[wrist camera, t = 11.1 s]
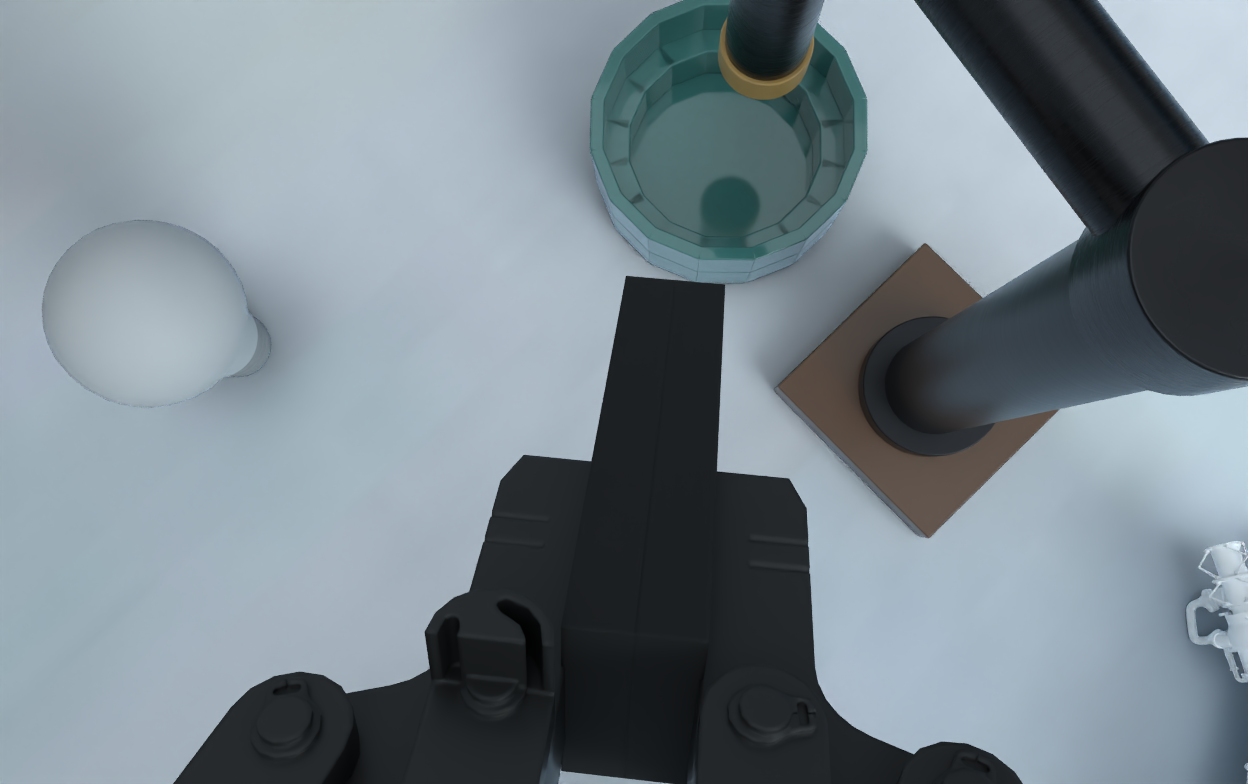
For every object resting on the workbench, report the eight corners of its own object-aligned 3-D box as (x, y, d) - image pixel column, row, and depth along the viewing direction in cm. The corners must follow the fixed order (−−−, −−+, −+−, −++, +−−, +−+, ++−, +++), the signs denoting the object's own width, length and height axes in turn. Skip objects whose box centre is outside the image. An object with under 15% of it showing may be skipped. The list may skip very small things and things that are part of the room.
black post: (772, 390, 40) (879, 288, 20) (915, 251, 40) (1159, 16, 20) (919, 537, 39) (1179, 583, 19) (1063, 394, 39) (1467, 294, 20)
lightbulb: (345, 386, 41) (227, 346, 30) (207, 448, 41) (38, 431, 30) (289, 250, 41) (153, 163, 30) (153, 311, 41) (-32, 247, 30)
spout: (1085, 381, 31) (1436, 288, 17) (973, 458, 31) (1231, 430, 17) (790, -15, 32) (886, -402, 18) (683, 57, 32) (696, -275, 18)
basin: (547, 163, 41) (533, 123, 37) (722, -3, 42) (729, -62, 37) (719, 336, 40) (726, 317, 36) (897, 165, 41) (925, 124, 36)
